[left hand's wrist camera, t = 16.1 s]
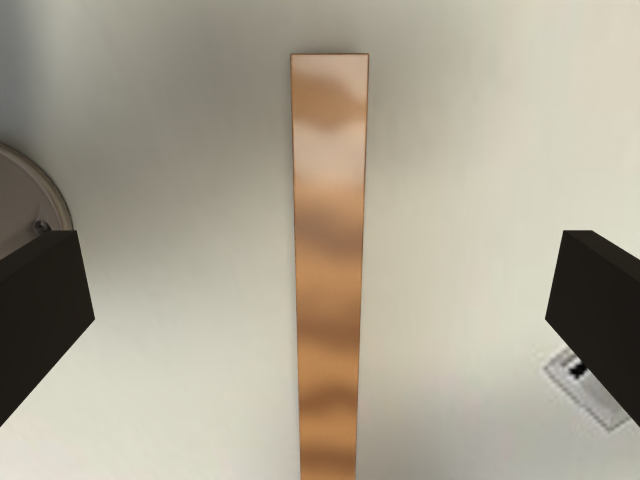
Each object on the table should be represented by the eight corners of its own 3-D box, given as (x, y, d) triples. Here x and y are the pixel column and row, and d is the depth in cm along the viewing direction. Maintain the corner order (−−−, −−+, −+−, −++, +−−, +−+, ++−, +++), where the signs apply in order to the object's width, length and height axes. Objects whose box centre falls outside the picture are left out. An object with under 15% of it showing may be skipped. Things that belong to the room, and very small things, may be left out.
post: (297, 56, 35) (290, 53, 28) (360, 55, 35) (369, 53, 28) (308, 593, 58) (305, 671, 51) (345, 593, 58) (348, 671, 51)
